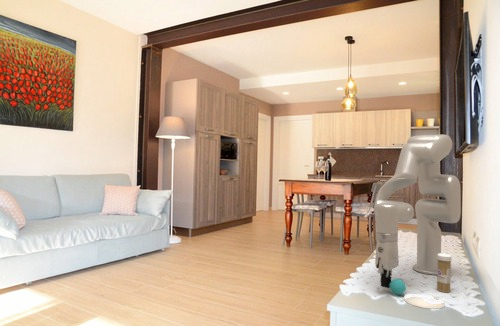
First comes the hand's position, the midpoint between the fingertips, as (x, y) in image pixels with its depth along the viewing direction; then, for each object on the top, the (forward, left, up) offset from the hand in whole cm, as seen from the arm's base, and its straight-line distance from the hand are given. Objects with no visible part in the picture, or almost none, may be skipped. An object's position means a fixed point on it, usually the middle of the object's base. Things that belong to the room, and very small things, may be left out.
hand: (385, 286), depth 130 cm
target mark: (0, +13, -2) cm, 13 cm away
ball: (0, +4, +1) cm, 5 cm away
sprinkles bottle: (-16, +15, -2) cm, 22 cm away
